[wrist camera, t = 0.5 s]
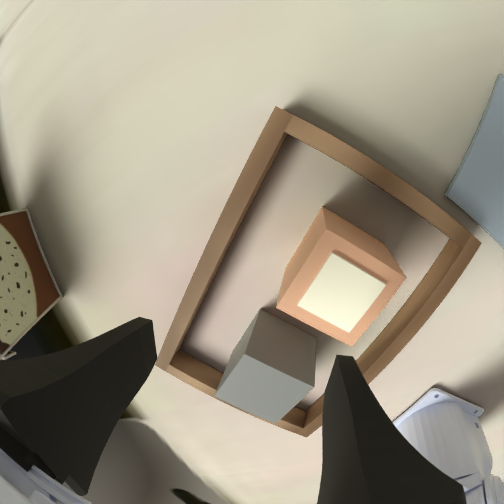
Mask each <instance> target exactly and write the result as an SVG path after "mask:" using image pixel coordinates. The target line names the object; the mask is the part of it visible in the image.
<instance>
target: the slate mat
mask: <svg viewBox="0 0 504 504" xmlns="http://www.w3.org/2000/svg"><path fill="white" fill-rule="evenodd" d="M445 196H447V197H448V198H449V199H450V200H451V201H453V202H454V203H455V204H456V205H457V206H459V207H460V208H461V209H462V210H463V211H464V212H466V213H467V214H468V215H469V216H470V217H471V218H472V219H473V220H475V221H476V222H477V223H478V224H479V225H480V226H481V227H482V228H483V229H484V230H485V231H486V232H487V233H489V234H490V235H491V236H492V237H493V238H494V239H495V240H496V241H497V242H498V243H499V244H500V245H501V246H502V247H503V248H504V76H503V75H502V74H499V75H498V78H497V80H496V83H495V86H494V89H493V92H492V94H491V97H490V100H489V102H488V105H487V107H486V110H485V112H484V115H483V117H482V120H481V122H480V124H479V127H478V129H477V131H476V133H475V136H474V138H473V140H472V142H471V144H470V147H469V149H468V151H467V153H466V155H465V157H464V159H463V161H462V163H461V165H460V167H459V169H458V171H457V173H456V175H455V177H454V179H453V180H452V182H451V184H450V186H449V188H448V190H447V191H446V193H445Z"/></svg>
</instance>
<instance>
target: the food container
mask: <svg viewBox="0 0 504 504" xmlns="http://www.w3.org/2000/svg"><path fill="white" fill-rule="evenodd" d="M61 298H63V296H62V294H61V292H60V289H59V287H58V285H57V283H56V281H55V278H54V276H53V274H52V272H51V269H50V267H49V265H48V262H47V260H46V257H45V255H44V252H43V250H42V247H41V245H40V242H39V239H38V237H37V234H36V231H35V228H34V225H33V222H32V219H31V216H30V213H29V210H28V208H24V209H19V210H15V211H10V212H5V213H1V214H0V359H4V360H5V359H7V358H9V357H11V356H13V355H15V354H16V352H12V351H10V349H11V348H12V347H13V346H14V345H15V344H16V343H17V342H18V341H19V340H20V338H22V337H23V336H24V334H26V333H27V332H28V331H29V330H30V328H31V327H32V326H33V325H34V324H35V323H36V322H38V321H39V320H40V319H41V318H42V317H43V316H44V315H45V314H46V313H47V312H48V311H49V310H50V309H51V308H52V307H53V306H54V305H55V304H56V303H57V302H58V301H59V300H60V299H61Z"/></svg>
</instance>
